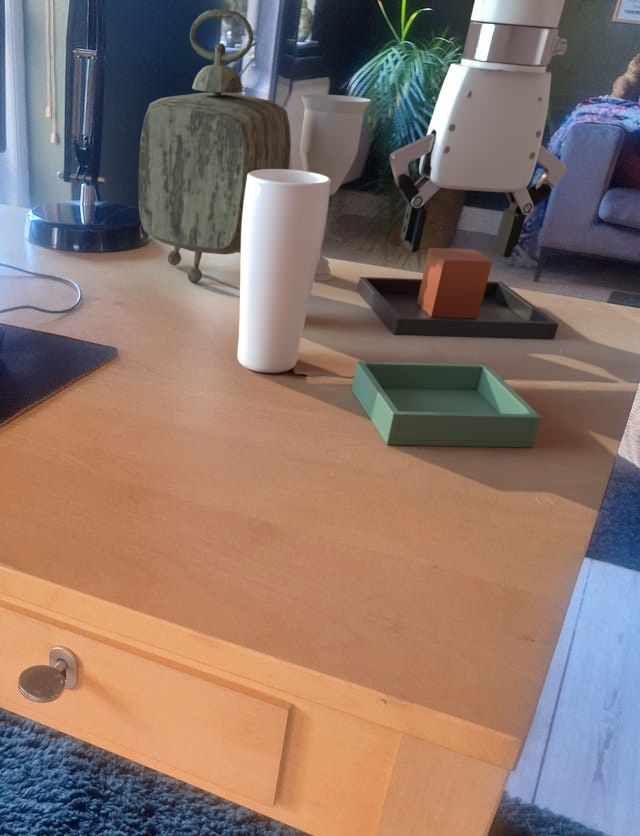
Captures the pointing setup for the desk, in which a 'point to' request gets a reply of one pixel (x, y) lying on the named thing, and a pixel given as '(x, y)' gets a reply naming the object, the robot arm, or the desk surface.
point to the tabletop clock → (207, 156)
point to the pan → (496, 318)
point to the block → (454, 282)
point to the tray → (443, 405)
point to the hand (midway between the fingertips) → (456, 251)
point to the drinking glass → (278, 263)
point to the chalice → (330, 142)
